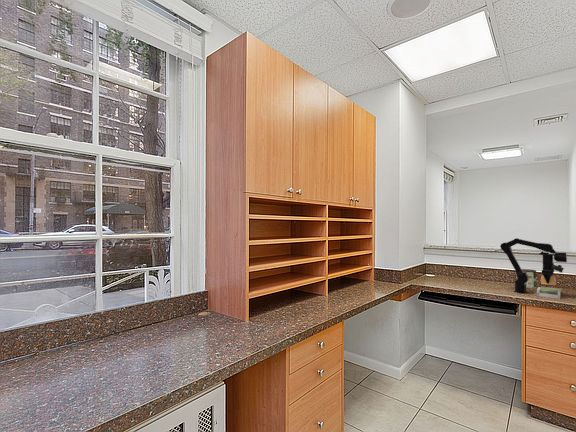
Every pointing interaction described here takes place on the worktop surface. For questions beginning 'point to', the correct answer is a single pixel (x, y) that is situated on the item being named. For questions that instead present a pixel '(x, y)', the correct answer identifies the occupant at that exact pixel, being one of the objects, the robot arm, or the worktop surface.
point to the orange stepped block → (551, 282)
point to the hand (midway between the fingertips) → (548, 282)
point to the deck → (549, 292)
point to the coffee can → (531, 278)
